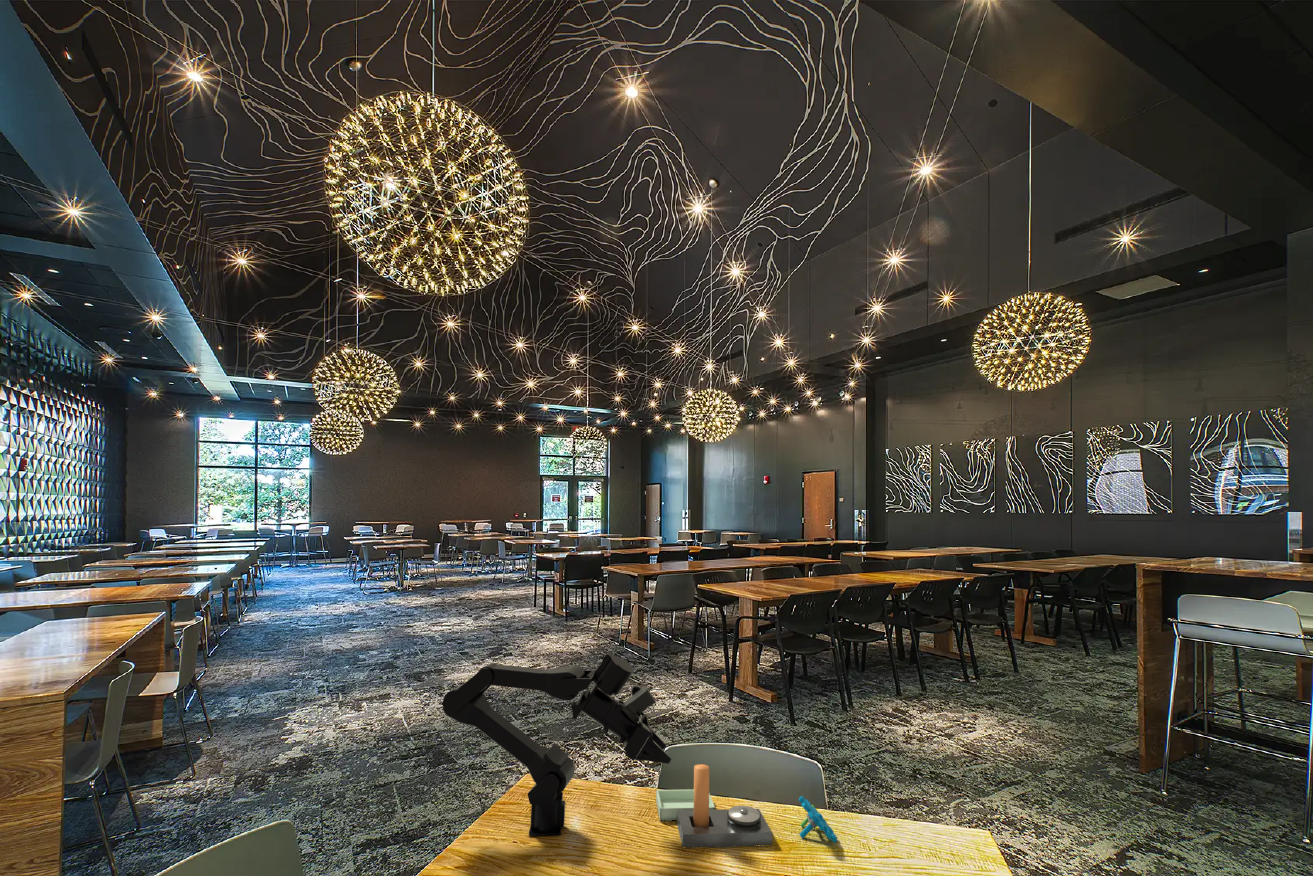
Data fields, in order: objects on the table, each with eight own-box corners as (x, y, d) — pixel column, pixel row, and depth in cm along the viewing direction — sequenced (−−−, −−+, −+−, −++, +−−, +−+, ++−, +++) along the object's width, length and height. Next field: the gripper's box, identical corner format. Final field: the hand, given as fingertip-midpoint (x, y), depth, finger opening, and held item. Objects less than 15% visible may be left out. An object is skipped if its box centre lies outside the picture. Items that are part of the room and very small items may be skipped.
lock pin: (694, 838, 121) (695, 770, 123) (692, 830, 124) (693, 764, 126) (710, 838, 121) (710, 770, 123) (707, 830, 124) (707, 764, 126)
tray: (659, 821, 128) (660, 808, 128) (656, 801, 137) (656, 790, 137) (714, 819, 129) (714, 807, 129) (707, 800, 138) (707, 789, 138)
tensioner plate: (682, 848, 117) (683, 822, 118) (676, 823, 127) (676, 799, 128) (771, 845, 119) (771, 820, 120) (759, 821, 129) (758, 798, 129)
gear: (843, 845, 117) (805, 801, 120) (822, 867, 116) (784, 823, 119) (835, 826, 127) (800, 786, 130) (815, 846, 127) (781, 806, 129)
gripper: (631, 686, 119) (695, 731, 118) (626, 669, 137) (681, 708, 136) (598, 737, 116) (664, 784, 116) (597, 713, 134) (654, 753, 134)
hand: (667, 754), depth 125 cm, fingers open, 9 cm apart
